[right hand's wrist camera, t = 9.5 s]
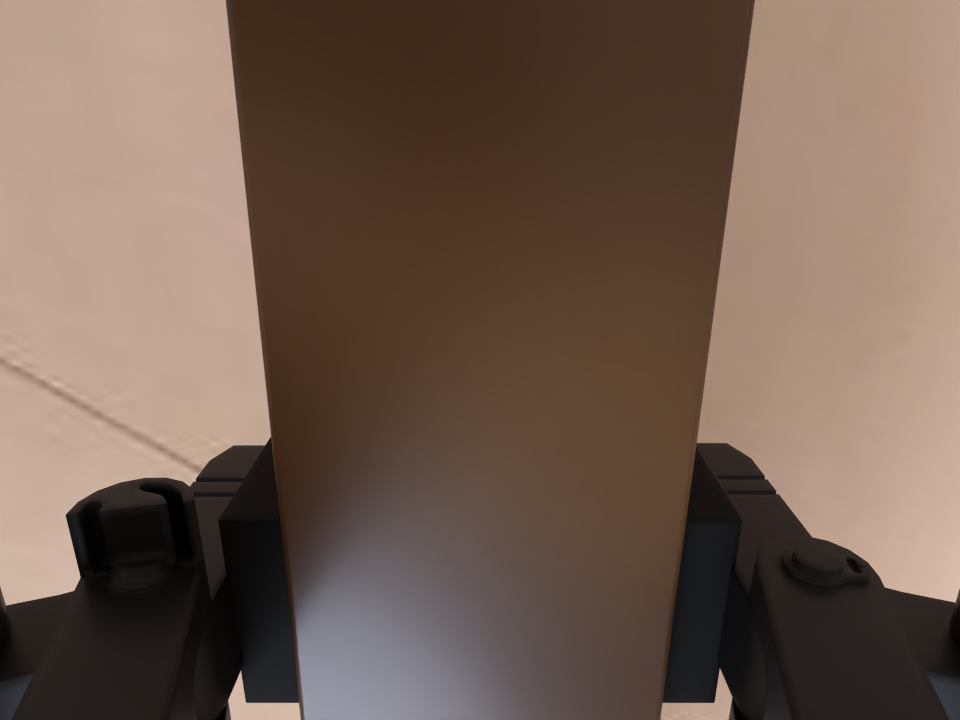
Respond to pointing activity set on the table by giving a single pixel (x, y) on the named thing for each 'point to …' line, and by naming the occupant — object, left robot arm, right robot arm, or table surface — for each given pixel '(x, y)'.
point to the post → (485, 337)
